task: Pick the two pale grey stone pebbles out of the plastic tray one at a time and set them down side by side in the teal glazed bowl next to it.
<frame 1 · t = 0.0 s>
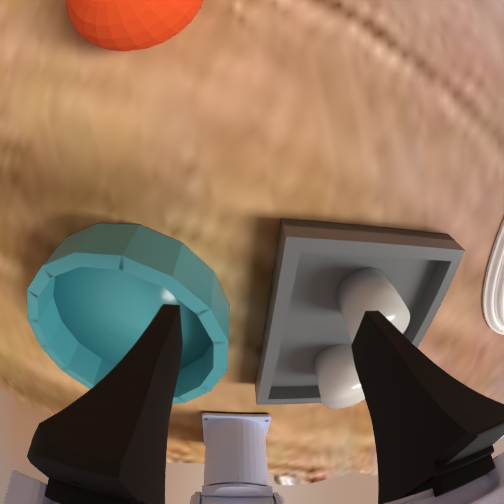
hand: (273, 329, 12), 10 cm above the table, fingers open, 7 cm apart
tray: (346, 321, 26), on the table
stone b: (363, 291, 23), point 1 cm above the table, touching tray
stone a: (337, 360, 27), point 1 cm above the table, touching tray
bowl: (131, 312, 24), on the table
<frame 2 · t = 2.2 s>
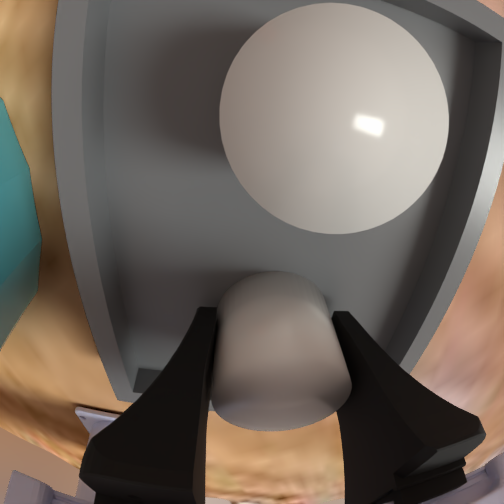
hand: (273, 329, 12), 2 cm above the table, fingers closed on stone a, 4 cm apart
tray: (283, 213, 11), on the table
stone b: (303, 104, 8), point 1 cm above the table, touching tray
stone a: (271, 316, 12), point 1 cm above the table, touching gripper, tray
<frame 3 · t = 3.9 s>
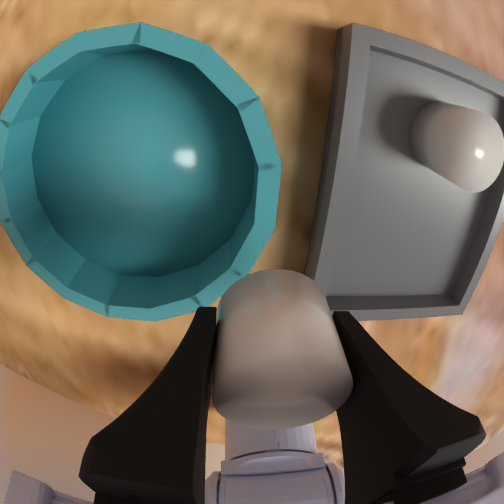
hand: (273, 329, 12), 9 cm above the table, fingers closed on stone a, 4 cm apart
tray: (418, 189, 18), on the table
stone b: (439, 135, 16), point 1 cm above the table, touching tray
stone a: (272, 315, 12), point 8 cm above the table, touching gripper
bowl: (134, 169, 17), on the table
when the fingers open (4 cm above the table, at t = 5.9 s): stone a drops 2 cm, resting on bowl.
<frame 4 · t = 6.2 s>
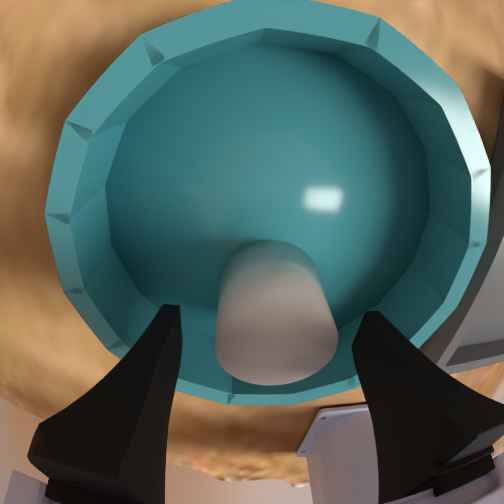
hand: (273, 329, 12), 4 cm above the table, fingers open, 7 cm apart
stone a: (268, 283, 14), point 1 cm above the table, touching bowl
bowl: (274, 216, 13), on the table
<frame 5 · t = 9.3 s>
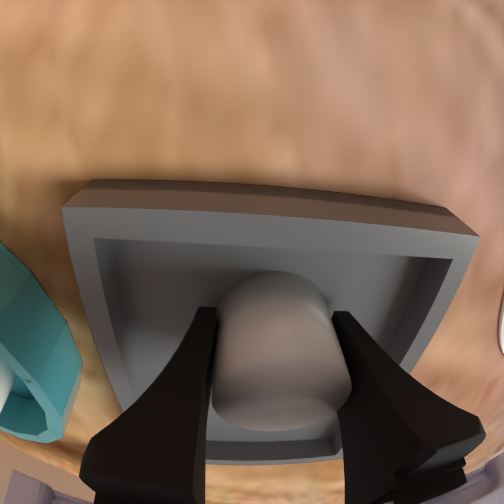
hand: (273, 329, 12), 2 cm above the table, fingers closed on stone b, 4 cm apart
tray: (259, 360, 15), on the table
stone b: (271, 316, 12), point 1 cm above the table, touching gripper, tray
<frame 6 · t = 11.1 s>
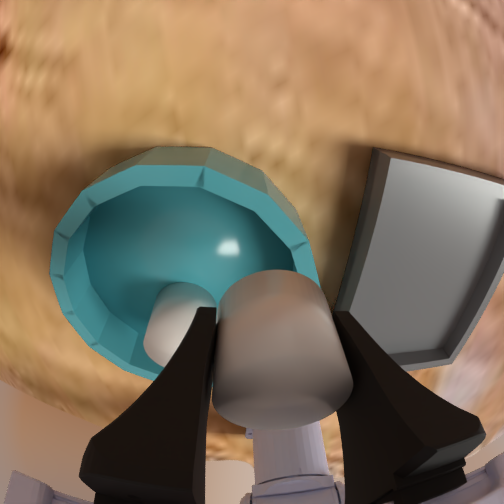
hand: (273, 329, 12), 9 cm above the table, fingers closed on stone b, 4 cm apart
tray: (423, 274, 22), on the table
stone b: (272, 315, 12), point 8 cm above the table, touching gripper
stone a: (186, 307, 22), point 1 cm above the table, touching bowl
bowl: (185, 266, 21), on the table
when the fingers open (4 cm above the table, at t = 12.9 s): stone b drops 2 cm, resting on bowl.
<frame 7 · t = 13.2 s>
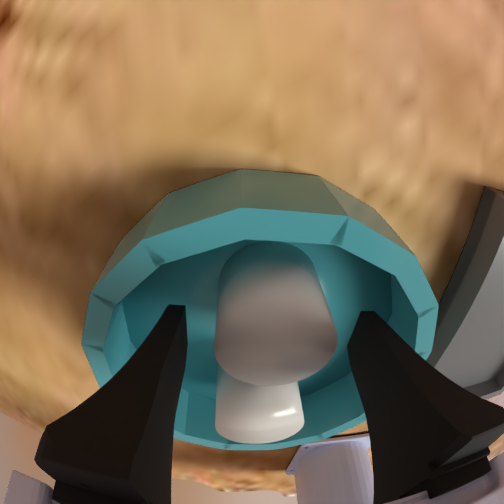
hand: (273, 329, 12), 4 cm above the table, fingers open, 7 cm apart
tray: (495, 313, 18), on the table
stone b: (268, 283, 14), point 1 cm above the table, touching bowl
stone a: (255, 366, 17), point 1 cm above the table, touching bowl
bowl: (259, 321, 16), on the table
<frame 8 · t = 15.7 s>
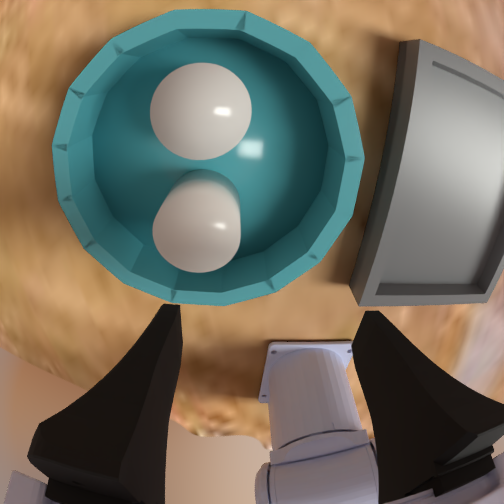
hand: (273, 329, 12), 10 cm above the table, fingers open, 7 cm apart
tray: (456, 188, 19), on the table
stone b: (208, 105, 16), point 1 cm above the table, touching bowl
stone a: (203, 204, 19), point 1 cm above the table, touching bowl
bowl: (206, 154, 18), on the table
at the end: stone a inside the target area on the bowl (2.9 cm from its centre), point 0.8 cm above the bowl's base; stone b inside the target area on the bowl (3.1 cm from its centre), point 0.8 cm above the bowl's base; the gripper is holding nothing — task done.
